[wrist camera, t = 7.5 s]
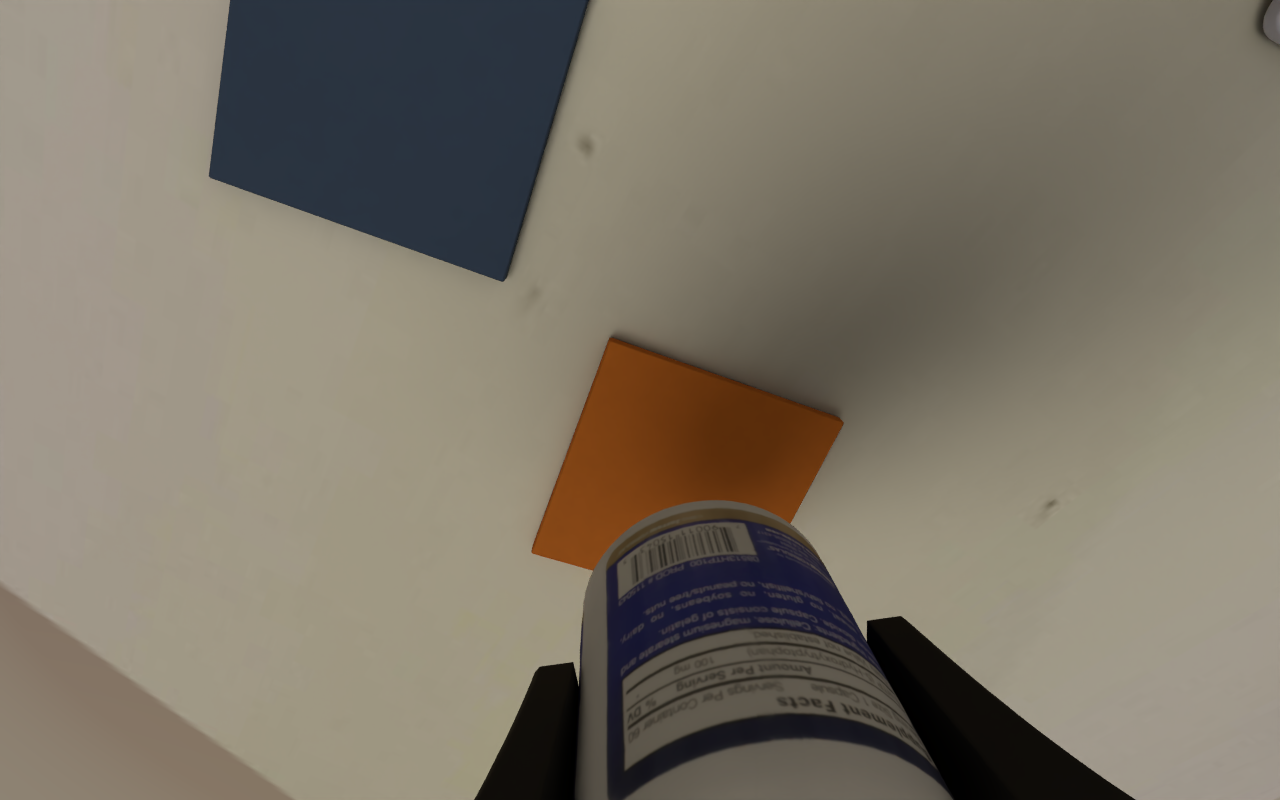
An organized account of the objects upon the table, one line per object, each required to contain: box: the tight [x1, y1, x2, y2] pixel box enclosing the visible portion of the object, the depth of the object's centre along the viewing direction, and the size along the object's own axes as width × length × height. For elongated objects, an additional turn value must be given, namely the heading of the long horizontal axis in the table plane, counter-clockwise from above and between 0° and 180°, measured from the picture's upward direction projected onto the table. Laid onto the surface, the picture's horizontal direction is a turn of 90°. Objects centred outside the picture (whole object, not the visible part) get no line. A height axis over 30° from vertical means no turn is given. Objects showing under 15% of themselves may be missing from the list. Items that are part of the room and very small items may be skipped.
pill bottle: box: [573, 500, 955, 800], centre depth 9 cm, size 5×5×9 cm
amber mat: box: [532, 338, 844, 570], centre depth 18 cm, size 7×7×1 cm
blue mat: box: [209, 0, 589, 282], centre depth 13 cm, size 7×7×1 cm
